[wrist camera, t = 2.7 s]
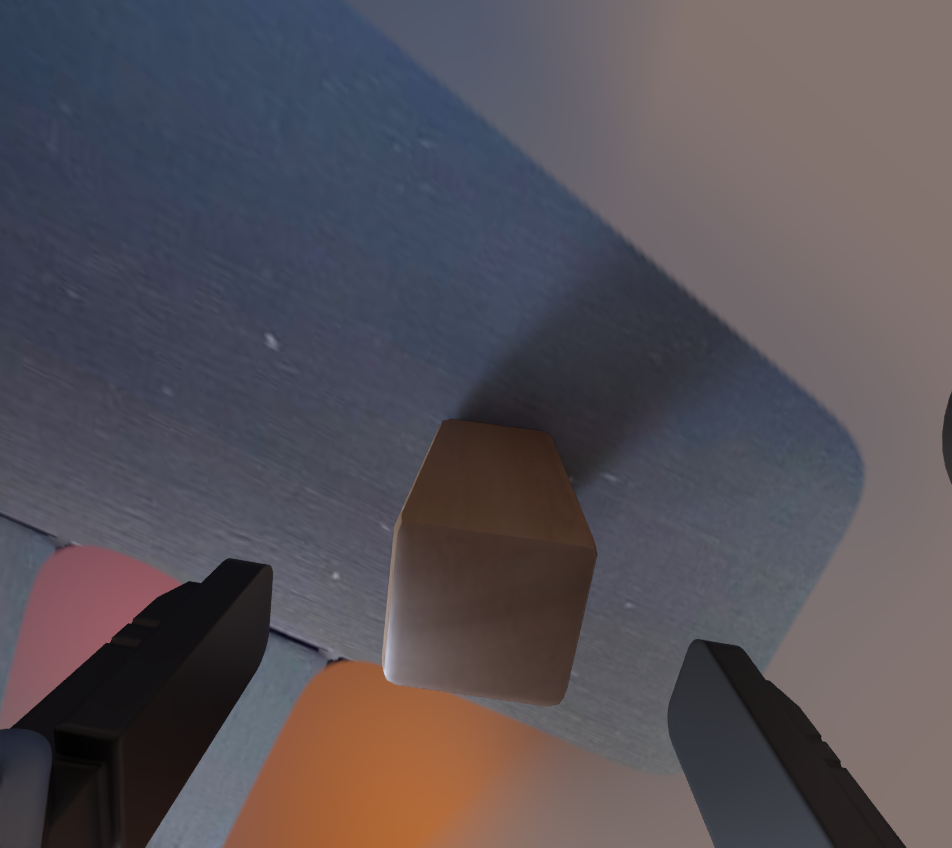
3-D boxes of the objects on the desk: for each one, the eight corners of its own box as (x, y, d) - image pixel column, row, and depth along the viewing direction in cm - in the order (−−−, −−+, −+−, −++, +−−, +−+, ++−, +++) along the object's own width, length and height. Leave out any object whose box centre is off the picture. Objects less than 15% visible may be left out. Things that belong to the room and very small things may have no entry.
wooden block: (535, 532, 17) (566, 718, 10) (429, 517, 17) (375, 691, 10) (553, 429, 16) (605, 546, 9) (440, 414, 16) (391, 516, 9)
